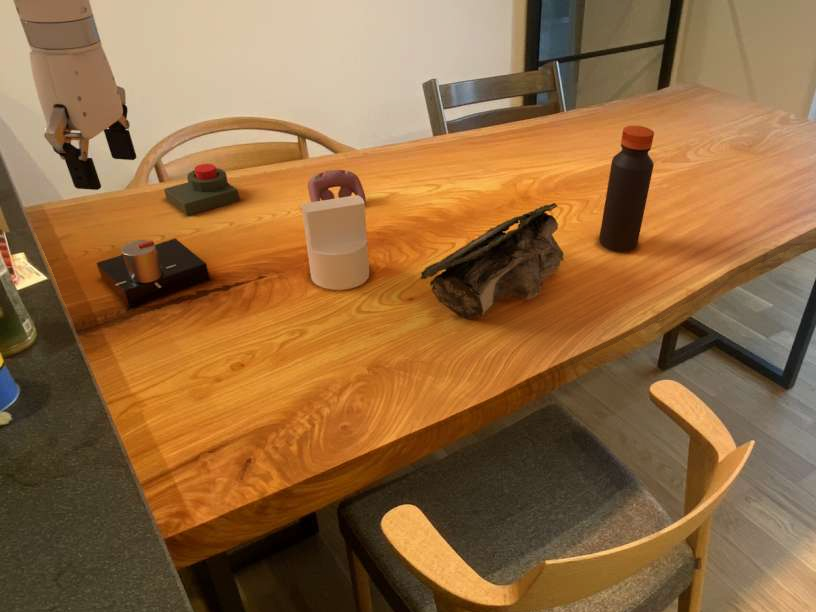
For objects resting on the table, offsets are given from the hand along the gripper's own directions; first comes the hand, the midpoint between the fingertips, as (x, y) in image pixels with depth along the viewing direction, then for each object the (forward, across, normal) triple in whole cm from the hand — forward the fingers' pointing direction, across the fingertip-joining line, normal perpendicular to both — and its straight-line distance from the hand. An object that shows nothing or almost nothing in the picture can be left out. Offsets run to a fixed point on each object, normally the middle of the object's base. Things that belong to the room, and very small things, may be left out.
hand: (107, 172), depth 92 cm
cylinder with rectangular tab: (+18, -8, +28) cm, 34 cm away
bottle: (+18, -25, +73) cm, 79 cm away
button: (+14, -32, -2) cm, 35 cm away
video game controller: (+18, -32, +22) cm, 43 cm away
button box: (+18, -30, -2) cm, 34 cm away
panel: (+18, -1, +2) cm, 18 cm away
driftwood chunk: (+18, -6, +52) cm, 55 cm away
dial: (+15, +1, +2) cm, 15 cm away
